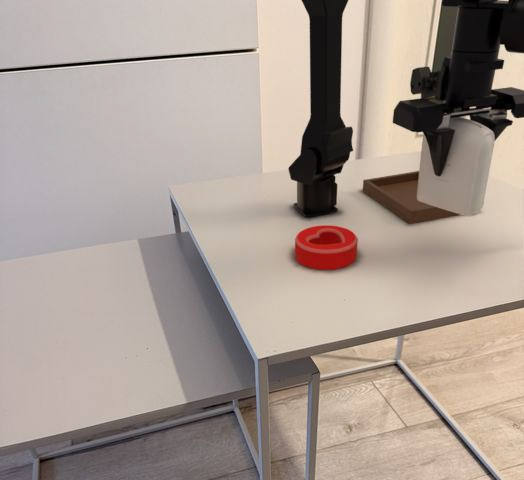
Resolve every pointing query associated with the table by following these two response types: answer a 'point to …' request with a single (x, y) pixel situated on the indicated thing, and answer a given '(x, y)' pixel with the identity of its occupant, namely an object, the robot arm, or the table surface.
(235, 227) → the table surface
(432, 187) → the photo printer
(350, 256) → the decorative ornament
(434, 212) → the tray
